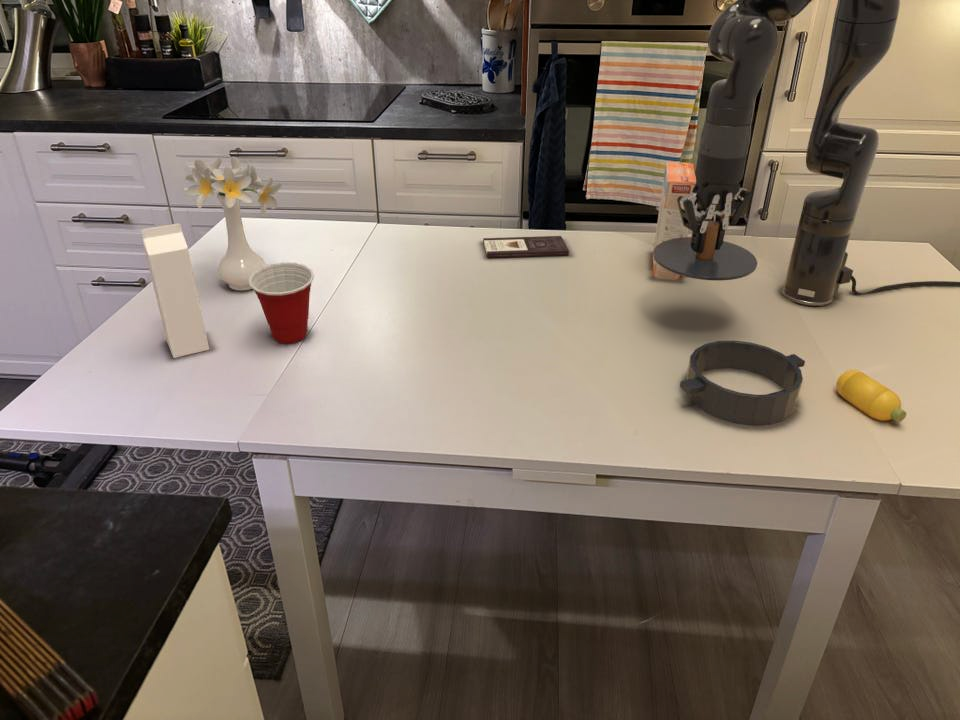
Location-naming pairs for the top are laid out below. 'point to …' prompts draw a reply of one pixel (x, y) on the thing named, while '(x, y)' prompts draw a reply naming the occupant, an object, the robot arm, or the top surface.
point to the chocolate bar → (525, 246)
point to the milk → (175, 289)
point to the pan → (742, 404)
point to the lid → (705, 258)
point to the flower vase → (233, 213)
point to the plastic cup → (284, 299)
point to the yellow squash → (870, 396)
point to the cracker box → (672, 209)
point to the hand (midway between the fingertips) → (705, 249)
